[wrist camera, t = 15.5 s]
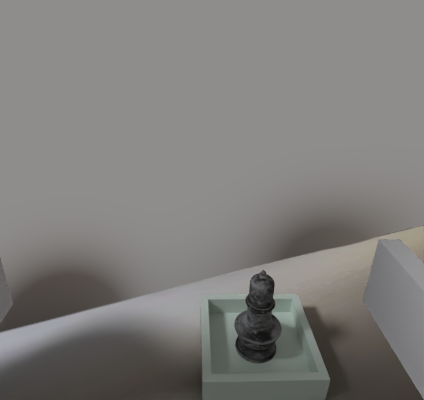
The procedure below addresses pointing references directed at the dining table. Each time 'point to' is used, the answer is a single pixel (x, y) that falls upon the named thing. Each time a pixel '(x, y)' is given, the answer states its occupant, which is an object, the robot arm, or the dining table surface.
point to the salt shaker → (258, 322)
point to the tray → (260, 372)
